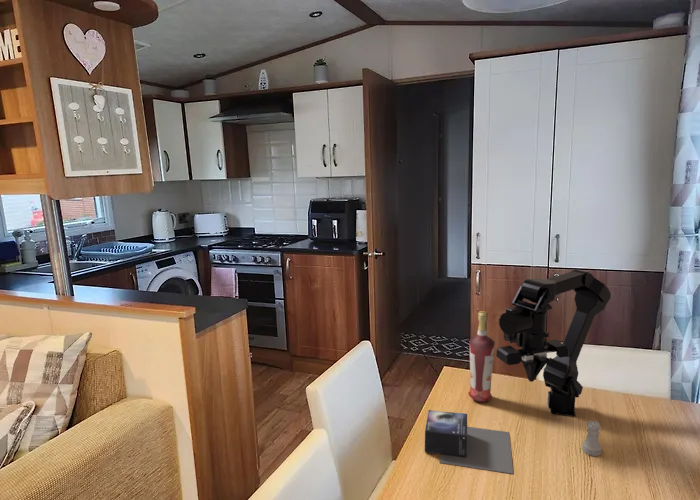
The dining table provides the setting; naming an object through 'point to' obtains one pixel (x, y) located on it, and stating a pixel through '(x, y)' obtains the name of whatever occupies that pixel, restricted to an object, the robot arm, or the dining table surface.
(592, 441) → the rook chess piece
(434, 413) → the small box
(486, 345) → the liquor
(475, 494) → the dining table surface
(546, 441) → the dining table surface
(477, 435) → the mat
